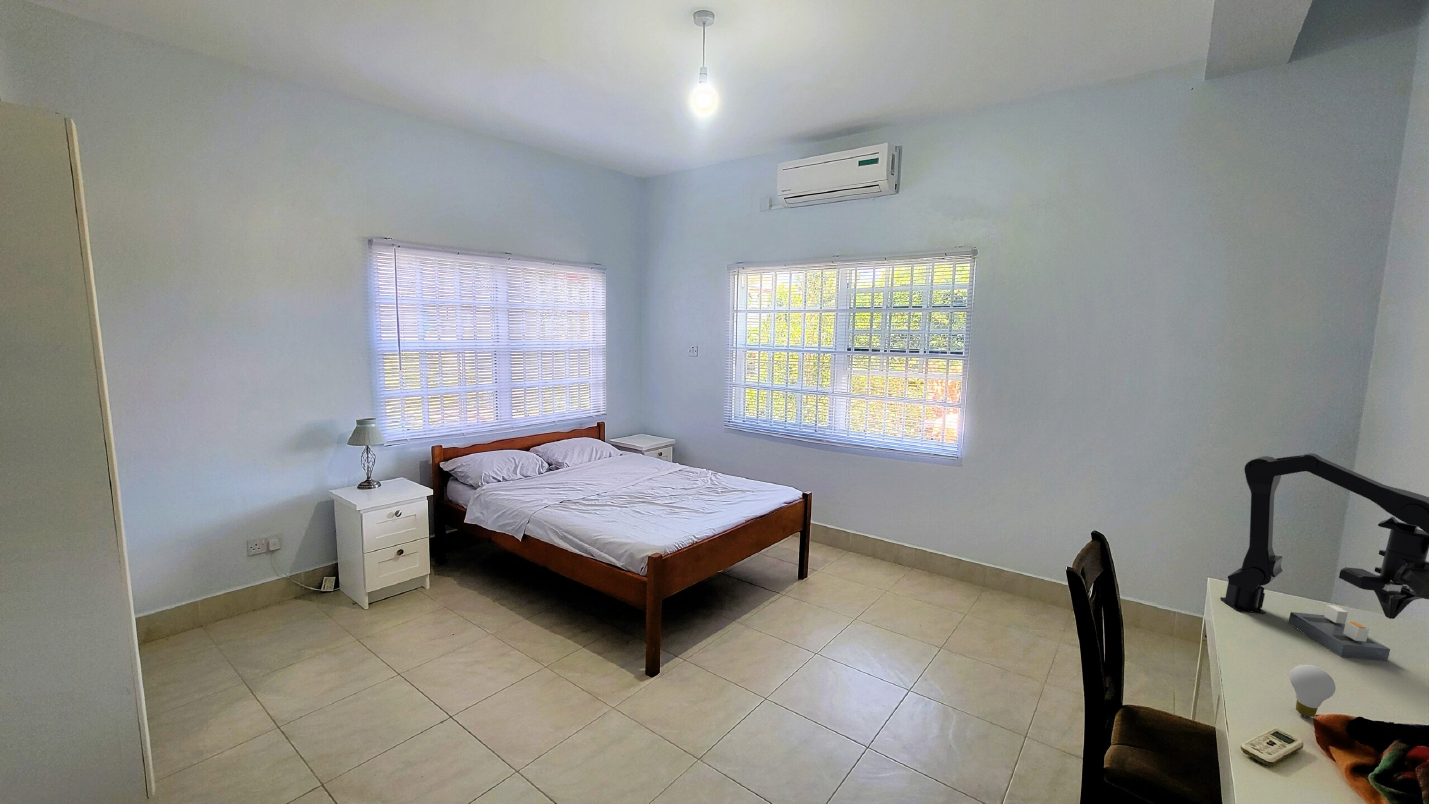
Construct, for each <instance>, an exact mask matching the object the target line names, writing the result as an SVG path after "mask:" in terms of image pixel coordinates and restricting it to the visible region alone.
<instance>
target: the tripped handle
mask: <svg viewBox="0 0 1429 804" xmlns="http://www.w3.org/2000/svg"><path fill="white" fill-rule="evenodd" d="M1368 633H1369V628H1367V627H1365V625H1362V624H1360V623H1359V622H1356V621H1349V620H1346V622H1345V628H1344V632H1343V634H1345V635H1347V636H1348V637H1350V638H1352V639H1354V640H1355V641H1363V642H1366V639H1367V636H1368Z"/></svg>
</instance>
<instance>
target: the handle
mask: <svg viewBox="0 0 1429 804" xmlns="http://www.w3.org/2000/svg"><path fill="white" fill-rule="evenodd" d="M1348 613H1349V612H1348V611H1346V610H1345V609H1344V608H1341V607H1340V606H1338V605H1331V604H1326V607H1325V612H1324V614H1323V615H1324V617H1326V618H1328V619H1330V620H1331V621H1333V622H1335V623H1341V624H1345V623H1346V621H1347V618H1348Z"/></svg>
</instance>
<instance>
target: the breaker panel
mask: <svg viewBox="0 0 1429 804" xmlns="http://www.w3.org/2000/svg"><path fill="white" fill-rule="evenodd" d="M1324 615H1325V614H1318V613H1317V614H1316V613H1304V612H1295V611H1290V613H1289V618H1288V624H1289V623H1290V624H1291V625H1290V624H1289V625H1290V626H1292V625H1293V626H1294V627H1293V626H1292V627H1293V628H1295V627H1296V628H1295V629H1297V628H1298V629H1299V630H1298V629H1297V630H1298V631H1300V630H1301V631H1302V632H1301V631H1300V632H1301V633H1303V632H1304V633H1303V634H1305V636H1308V637H1309V638H1310V639H1313V641H1315V640H1316V641H1315V642H1317V641H1318V642H1319V643H1318V642H1317V643H1318V644H1320V645H1322V646H1323V645H1324V646H1323V647H1324V648H1326V647H1327V648H1326V649H1328V650H1329V649H1330V650H1329V651H1332V652H1333V653H1334V654H1336V655H1338V656H1339V657H1341V658H1351V659H1359V660H1366V661H1367V660H1368V661H1369V660H1370V661H1379V662H1388V661H1389V656H1390V652H1391V648H1389V647H1388V646H1387V645H1386V646H1385V645H1384V644H1382V643H1381V642H1379V641H1377V640H1375V639H1374V638H1372V637H1369V636H1368V635H1367V639H1366V642H1363V641H1355V640H1354V639H1352V638H1350V637H1348V636H1347V635H1345V634H1343V632H1344V628H1345V624H1341V623H1335V622H1333V621H1331V620H1330V619H1328V618H1326V617H1324Z"/></svg>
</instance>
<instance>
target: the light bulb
mask: <svg viewBox="0 0 1429 804" xmlns="http://www.w3.org/2000/svg"><path fill="white" fill-rule="evenodd" d="M1289 681H1290V684H1291V686H1292V687H1293V690H1294V693H1295V699H1296V703H1295V710H1296V711H1297V712H1298V714H1300V715H1301V716H1302V717H1304V716H1305V717H1304V718H1314V717H1316V716H1317V711H1318V709H1319V707H1321V705H1322V703H1323V702H1325V701H1326V700H1329V699H1330V698H1332V697H1333V696H1334V694H1335V692H1336V682H1335V681H1334V679H1333V678H1332V676H1331V675H1330V674H1329V672H1327V671H1325V670H1324V669H1322V668H1321V667H1318V666H1316V665H1313V664H1312V665H1311V664H1298V665H1296V666H1295V667H1293V668H1292V669H1291V671H1290V673H1289Z"/></svg>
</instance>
